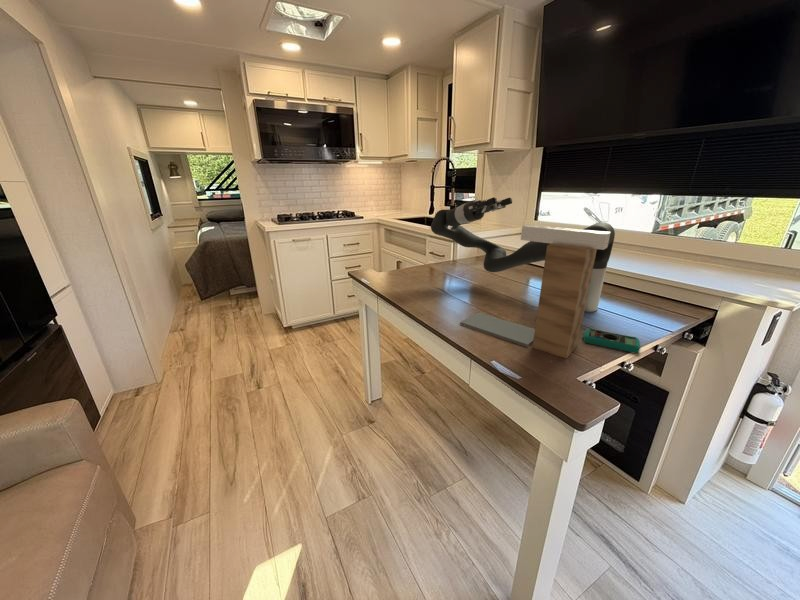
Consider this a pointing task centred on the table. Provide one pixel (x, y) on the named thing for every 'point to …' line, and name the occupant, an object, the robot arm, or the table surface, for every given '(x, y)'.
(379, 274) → the table surface
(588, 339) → the digital multimeter
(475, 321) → the rubber mat
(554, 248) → the walnut stand
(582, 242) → the aluminium bar
